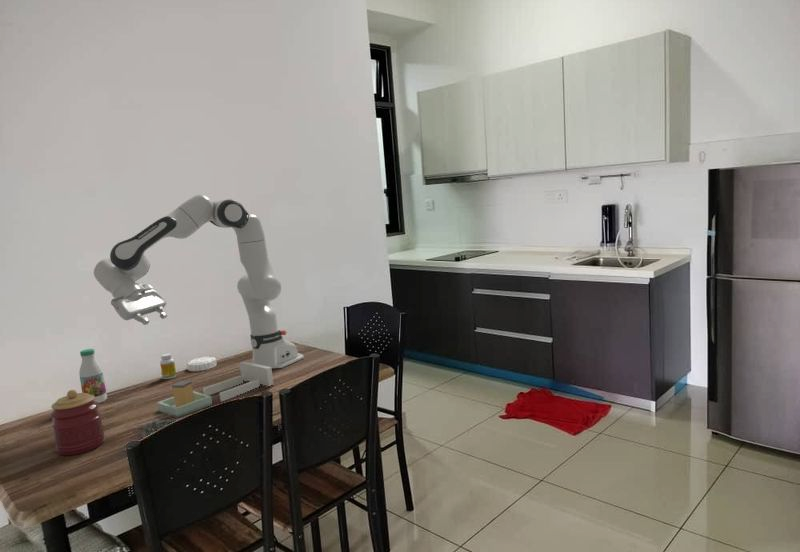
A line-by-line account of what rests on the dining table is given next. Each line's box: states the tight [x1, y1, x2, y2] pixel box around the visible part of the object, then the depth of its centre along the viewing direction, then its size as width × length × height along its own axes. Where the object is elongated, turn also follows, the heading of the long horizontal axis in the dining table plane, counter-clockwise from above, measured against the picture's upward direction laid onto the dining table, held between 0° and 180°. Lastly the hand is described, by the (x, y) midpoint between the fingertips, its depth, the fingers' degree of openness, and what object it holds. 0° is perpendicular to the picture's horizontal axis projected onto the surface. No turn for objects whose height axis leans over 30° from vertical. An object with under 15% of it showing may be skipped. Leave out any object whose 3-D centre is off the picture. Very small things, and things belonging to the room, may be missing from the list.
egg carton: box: [137, 417, 180, 439], centre depth 174 cm, size 11×8×4 cm
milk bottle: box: [78, 348, 108, 404], centre depth 211 cm, size 8×8×20 cm
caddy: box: [171, 380, 194, 407], centre depth 195 cm, size 4×4×8 cm
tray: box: [157, 390, 213, 419], centre depth 196 cm, size 13×13×3 cm
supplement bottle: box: [159, 353, 177, 380], centre depth 236 cm, size 5×5×10 cm
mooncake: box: [186, 356, 217, 372], centre depth 247 cm, size 12×12×4 cm
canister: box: [49, 389, 106, 456], centre depth 169 cm, size 13×13×18 cm
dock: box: [202, 361, 275, 402], centre depth 210 cm, size 20×18×7 cm
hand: (156, 320), depth 204 cm, fingers open, 8 cm apart
